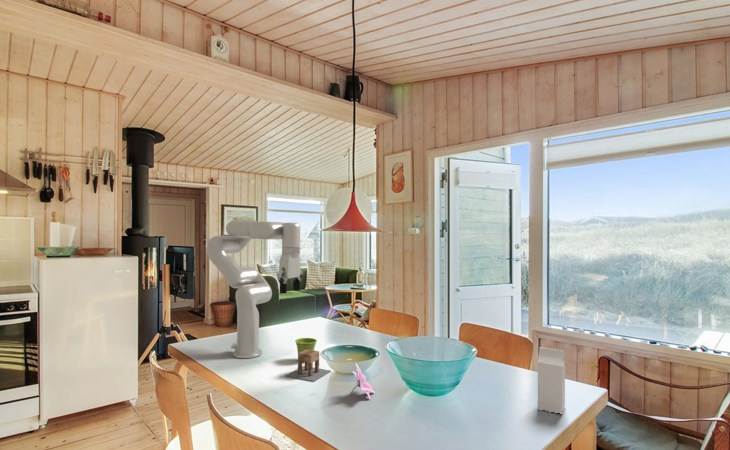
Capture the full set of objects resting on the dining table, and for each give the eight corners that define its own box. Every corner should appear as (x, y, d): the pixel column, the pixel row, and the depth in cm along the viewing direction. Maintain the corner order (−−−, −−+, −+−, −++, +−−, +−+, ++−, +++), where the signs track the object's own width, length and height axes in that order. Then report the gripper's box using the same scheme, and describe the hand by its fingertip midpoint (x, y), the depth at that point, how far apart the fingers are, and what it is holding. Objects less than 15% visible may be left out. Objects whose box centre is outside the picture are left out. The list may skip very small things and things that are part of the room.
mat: (284, 376, 155) (284, 375, 155) (303, 366, 167) (303, 365, 167) (313, 381, 149) (313, 380, 149) (331, 371, 161) (331, 370, 161)
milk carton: (562, 415, 124) (562, 353, 124) (537, 410, 127) (537, 349, 128) (565, 407, 130) (564, 348, 130) (541, 402, 134) (541, 344, 134)
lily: (356, 409, 129) (371, 382, 129) (331, 386, 135) (346, 361, 136) (373, 408, 138) (388, 383, 139) (350, 387, 145) (363, 363, 146)
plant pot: (318, 357, 179) (318, 338, 180) (313, 364, 170) (314, 343, 170) (298, 356, 180) (298, 337, 181) (292, 363, 171) (292, 342, 171)
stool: (297, 373, 157) (298, 353, 157) (306, 369, 162) (306, 349, 162) (310, 376, 154) (311, 355, 154) (318, 371, 159) (319, 351, 160)
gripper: (295, 250, 181) (294, 288, 181) (270, 251, 166) (270, 293, 165) (309, 251, 178) (308, 290, 178) (285, 252, 163) (285, 294, 162)
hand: (290, 291), depth 171 cm, fingers open, 9 cm apart
